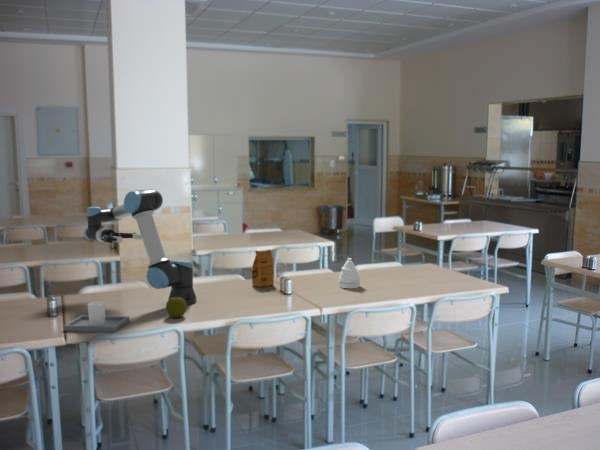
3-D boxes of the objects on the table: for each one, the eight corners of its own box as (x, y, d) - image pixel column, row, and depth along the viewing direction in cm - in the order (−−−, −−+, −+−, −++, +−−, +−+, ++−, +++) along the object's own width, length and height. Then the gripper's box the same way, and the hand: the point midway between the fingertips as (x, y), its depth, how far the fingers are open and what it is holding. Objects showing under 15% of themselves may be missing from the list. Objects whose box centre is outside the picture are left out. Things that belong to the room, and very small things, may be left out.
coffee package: (250, 285, 375) (249, 250, 373) (267, 283, 382) (267, 248, 379) (257, 288, 367) (257, 252, 364) (275, 285, 373) (275, 250, 371)
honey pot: (360, 289, 365) (360, 259, 362) (339, 289, 365) (339, 259, 363) (358, 284, 377) (359, 256, 375) (338, 284, 377) (338, 255, 375)
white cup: (91, 321, 289) (90, 301, 288) (107, 321, 290) (107, 301, 289) (86, 326, 282) (85, 305, 280) (103, 326, 282) (102, 305, 281)
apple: (168, 320, 296) (167, 298, 295) (164, 315, 305) (164, 294, 304) (188, 318, 300) (188, 296, 299) (184, 313, 309) (183, 292, 308)
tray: (129, 321, 294) (129, 316, 293) (114, 332, 276) (114, 327, 276) (81, 320, 296) (81, 315, 296) (63, 331, 278) (63, 325, 278)
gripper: (123, 239, 352) (149, 242, 341) (87, 244, 332) (113, 248, 320) (123, 226, 351) (148, 229, 340) (86, 231, 331) (112, 234, 319)
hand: (131, 238), depth 330 cm, fingers open, 13 cm apart
